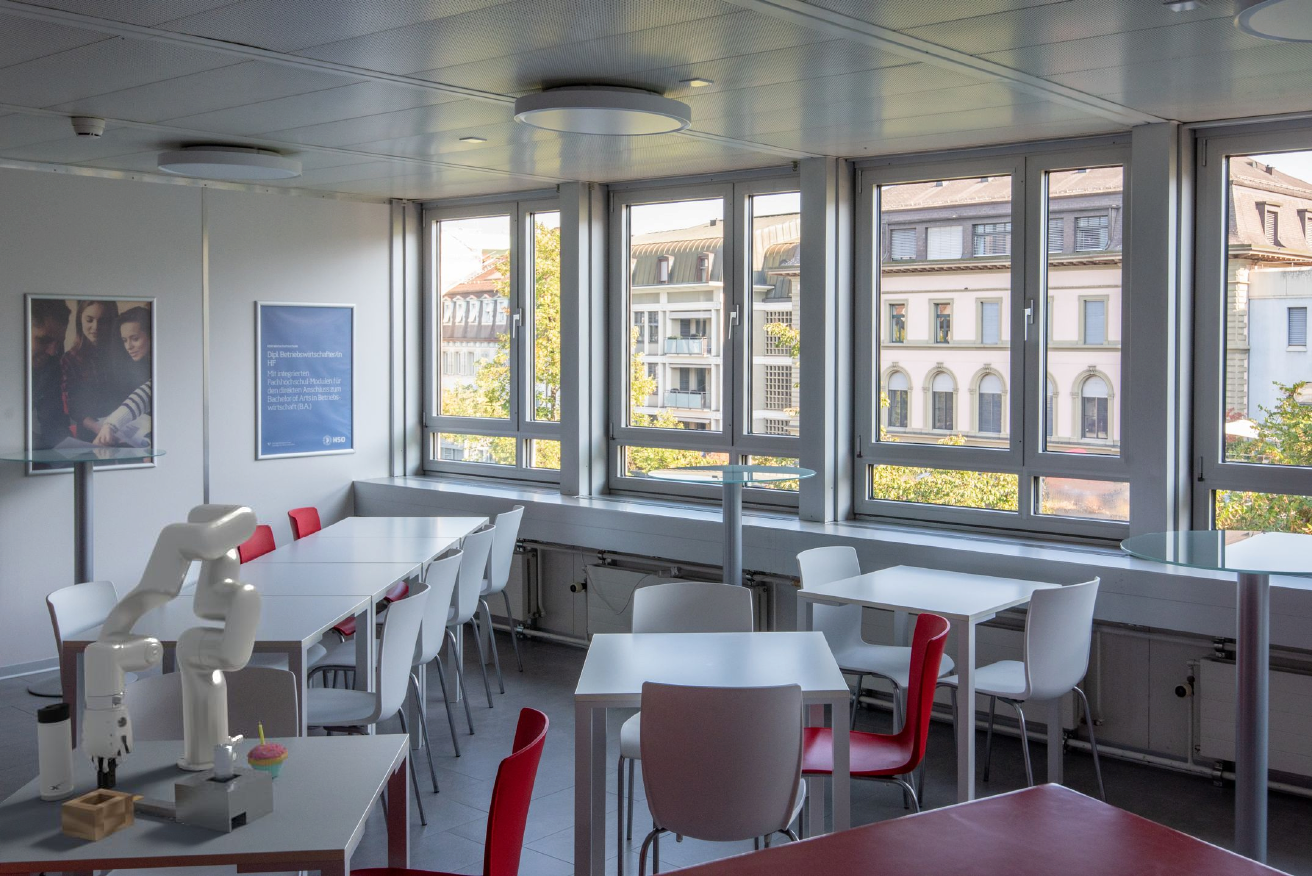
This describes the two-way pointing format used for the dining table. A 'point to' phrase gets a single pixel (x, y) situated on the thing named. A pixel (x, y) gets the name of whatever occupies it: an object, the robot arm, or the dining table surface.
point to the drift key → (154, 807)
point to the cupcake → (267, 756)
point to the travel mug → (55, 752)
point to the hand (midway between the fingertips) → (106, 788)
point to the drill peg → (223, 763)
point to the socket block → (223, 799)
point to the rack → (97, 814)
